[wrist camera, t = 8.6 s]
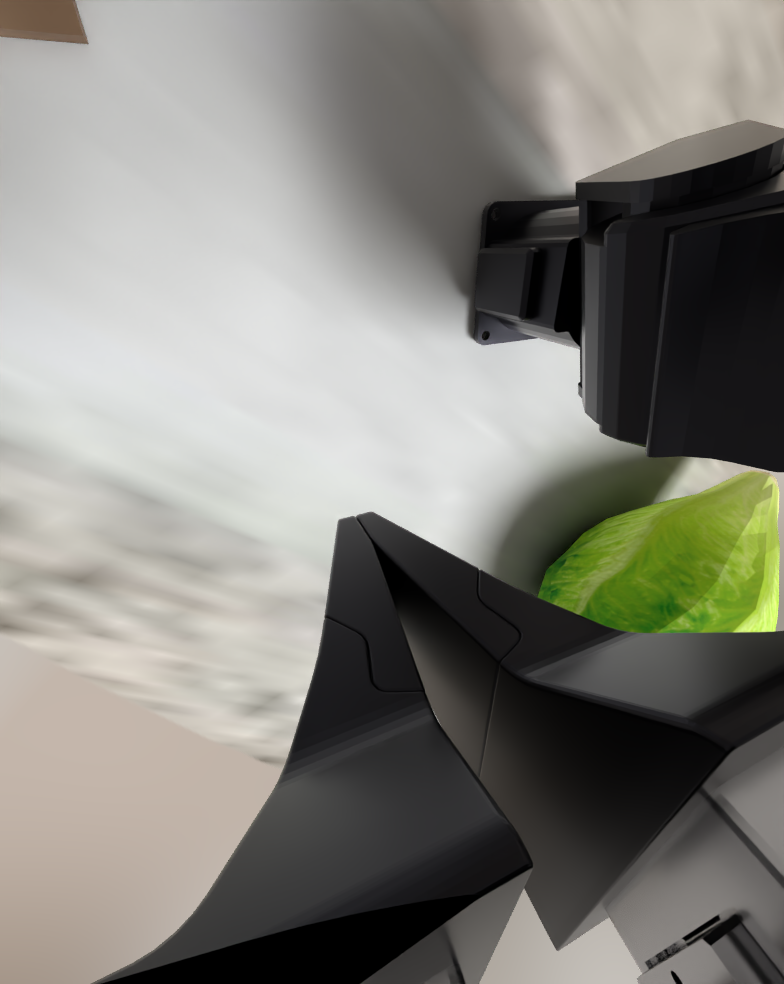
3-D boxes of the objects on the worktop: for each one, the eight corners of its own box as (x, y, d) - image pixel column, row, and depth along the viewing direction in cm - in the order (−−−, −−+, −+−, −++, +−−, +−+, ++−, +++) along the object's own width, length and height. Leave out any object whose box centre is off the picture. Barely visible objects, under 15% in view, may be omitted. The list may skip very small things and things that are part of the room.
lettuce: (651, 389, 33) (655, 485, 44) (484, 600, 31) (531, 646, 41) (920, 446, 23) (838, 553, 33) (696, 770, 20) (686, 773, 31)
